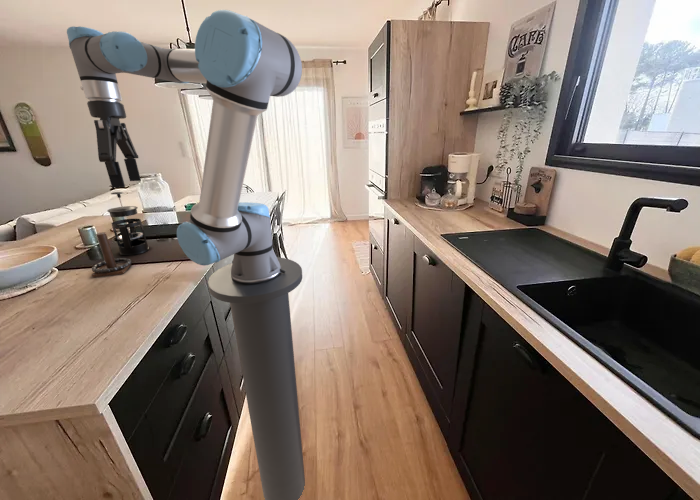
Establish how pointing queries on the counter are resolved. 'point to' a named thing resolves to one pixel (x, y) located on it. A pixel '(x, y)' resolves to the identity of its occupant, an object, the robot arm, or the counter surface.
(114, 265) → the holder
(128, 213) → the french press
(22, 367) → the counter surface
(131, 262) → the ring
